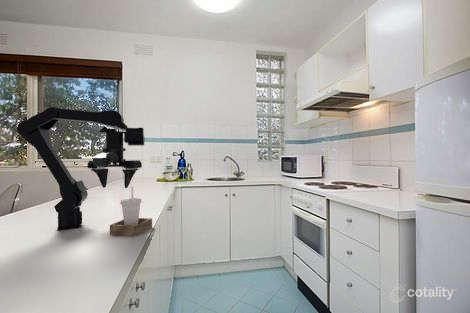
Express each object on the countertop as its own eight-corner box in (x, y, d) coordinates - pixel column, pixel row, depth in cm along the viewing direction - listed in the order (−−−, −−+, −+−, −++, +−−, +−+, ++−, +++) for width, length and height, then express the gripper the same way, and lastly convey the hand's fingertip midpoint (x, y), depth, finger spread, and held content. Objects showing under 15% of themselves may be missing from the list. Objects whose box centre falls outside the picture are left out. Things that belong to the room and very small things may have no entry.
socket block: (109, 234, 73) (109, 225, 73) (128, 225, 83) (128, 217, 82) (136, 236, 72) (136, 226, 72) (152, 227, 81) (152, 218, 81)
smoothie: (146, 227, 79) (145, 186, 79) (131, 233, 73) (131, 188, 73) (131, 225, 81) (130, 185, 81) (116, 231, 75) (115, 187, 75)
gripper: (74, 145, 80) (74, 190, 80) (122, 144, 76) (123, 191, 77) (98, 146, 91) (99, 186, 91) (142, 145, 87) (142, 187, 87)
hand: (115, 187), depth 86 cm, fingers open, 9 cm apart
